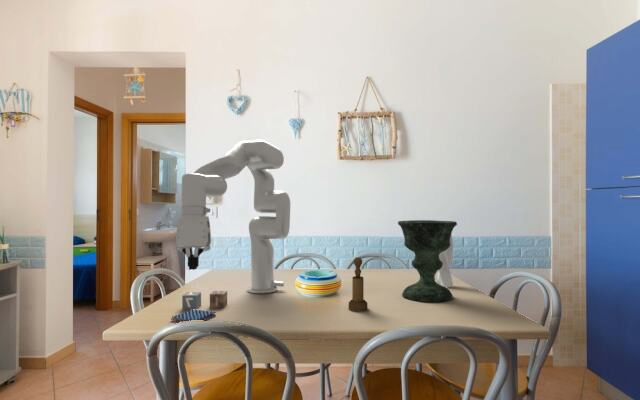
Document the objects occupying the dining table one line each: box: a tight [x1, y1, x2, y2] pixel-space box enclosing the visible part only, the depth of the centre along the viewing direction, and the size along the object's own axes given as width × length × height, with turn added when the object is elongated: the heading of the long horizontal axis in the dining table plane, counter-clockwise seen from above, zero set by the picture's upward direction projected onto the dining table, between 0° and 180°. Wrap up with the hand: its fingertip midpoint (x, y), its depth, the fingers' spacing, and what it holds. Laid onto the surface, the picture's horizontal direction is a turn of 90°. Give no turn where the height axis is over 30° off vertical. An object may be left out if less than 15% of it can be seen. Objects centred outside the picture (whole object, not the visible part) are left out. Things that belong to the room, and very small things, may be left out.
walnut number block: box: [209, 290, 228, 309], centre depth 137 cm, size 5×5×5 cm
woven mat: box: [170, 309, 217, 323], centre depth 122 cm, size 10×11×2 cm
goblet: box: [397, 219, 458, 303], centre depth 150 cm, size 22×23×30 cm
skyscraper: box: [434, 233, 454, 288], centre depth 170 cm, size 8×8×28 cm
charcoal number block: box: [181, 291, 202, 311], centre depth 135 cm, size 5×5×5 cm
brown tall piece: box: [348, 257, 369, 312], centre depth 133 cm, size 7×6×18 cm
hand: (193, 268), depth 122 cm, fingers closed
